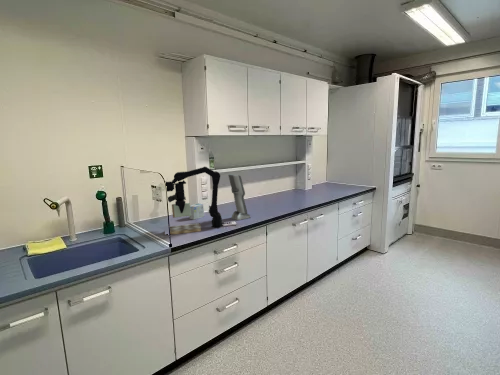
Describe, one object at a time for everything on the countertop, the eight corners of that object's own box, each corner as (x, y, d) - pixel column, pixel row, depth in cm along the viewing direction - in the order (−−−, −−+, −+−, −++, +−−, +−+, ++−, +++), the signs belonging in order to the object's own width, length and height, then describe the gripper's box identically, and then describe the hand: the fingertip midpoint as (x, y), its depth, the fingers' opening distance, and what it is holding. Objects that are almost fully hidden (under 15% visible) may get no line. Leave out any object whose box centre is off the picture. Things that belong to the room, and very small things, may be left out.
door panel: (190, 215, 188) (189, 202, 187) (190, 216, 186) (189, 203, 185) (173, 217, 186) (171, 204, 184) (172, 217, 184) (171, 205, 183)
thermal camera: (229, 217, 214) (227, 174, 208) (242, 214, 221) (240, 172, 215) (237, 220, 204) (234, 175, 199) (251, 217, 211) (249, 173, 206)
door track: (200, 227, 192) (200, 222, 191) (201, 231, 183) (200, 226, 182) (165, 231, 186) (165, 226, 186) (164, 235, 178) (164, 230, 177)
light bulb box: (199, 215, 225) (198, 203, 223) (204, 216, 221) (203, 203, 219) (188, 218, 217) (187, 205, 215) (194, 219, 212) (193, 206, 211)
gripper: (168, 189, 191) (170, 210, 193) (166, 193, 173) (168, 217, 175) (184, 188, 193) (186, 209, 195) (184, 192, 175) (186, 215, 177)
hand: (181, 212), depth 186 cm, fingers closed on door panel, 2 cm apart
